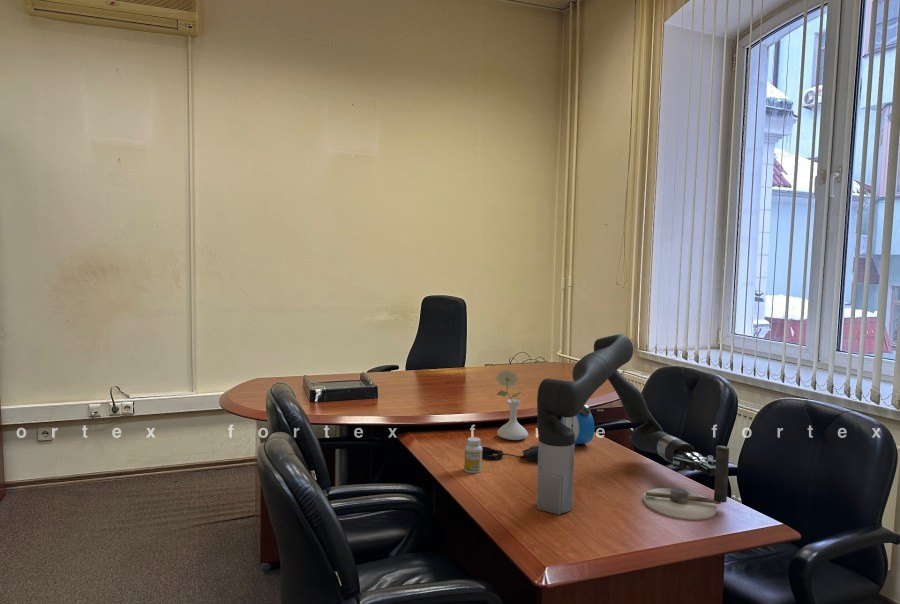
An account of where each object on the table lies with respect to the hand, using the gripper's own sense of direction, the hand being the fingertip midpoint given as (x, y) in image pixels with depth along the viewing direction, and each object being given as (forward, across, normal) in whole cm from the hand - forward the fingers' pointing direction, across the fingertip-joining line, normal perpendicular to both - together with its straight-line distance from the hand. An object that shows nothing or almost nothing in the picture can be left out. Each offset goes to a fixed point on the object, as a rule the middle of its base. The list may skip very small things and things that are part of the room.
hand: (712, 472), depth 150 cm
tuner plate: (0, -10, +8) cm, 13 cm away
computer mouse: (-42, -41, +9) cm, 59 cm away
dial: (+1, -8, +7) cm, 11 cm away
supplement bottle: (-32, -59, +9) cm, 67 cm away
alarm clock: (-54, -15, +9) cm, 57 cm away
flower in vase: (-64, -37, +9) cm, 74 cm away
